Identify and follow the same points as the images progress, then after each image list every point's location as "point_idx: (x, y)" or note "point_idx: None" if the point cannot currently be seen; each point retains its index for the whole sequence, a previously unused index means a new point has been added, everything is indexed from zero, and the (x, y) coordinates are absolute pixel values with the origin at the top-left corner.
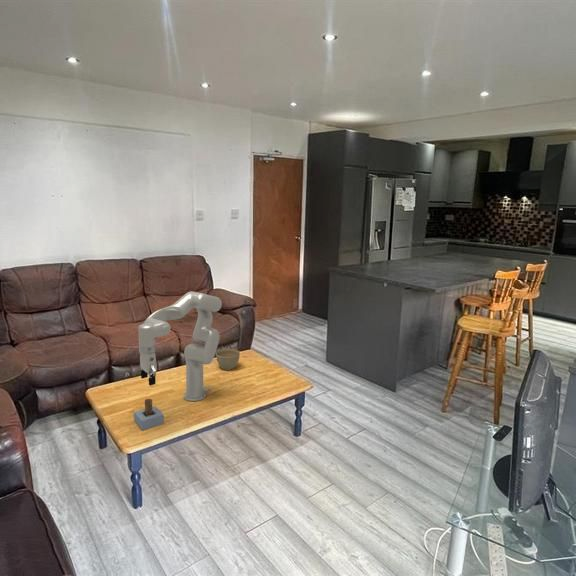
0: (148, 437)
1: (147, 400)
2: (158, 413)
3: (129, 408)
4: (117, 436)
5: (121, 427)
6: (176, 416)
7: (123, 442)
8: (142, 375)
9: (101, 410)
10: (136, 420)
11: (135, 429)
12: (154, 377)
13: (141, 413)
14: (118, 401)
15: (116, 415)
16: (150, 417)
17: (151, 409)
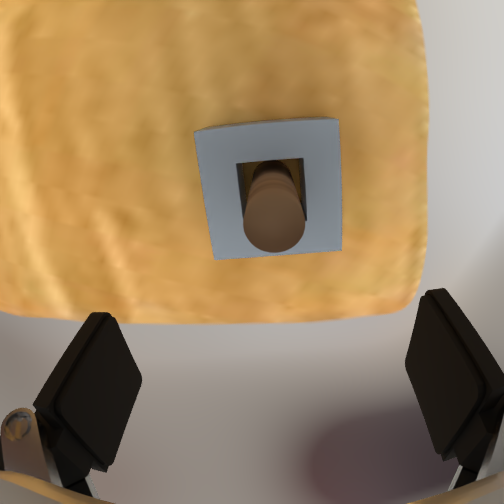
0: (400, 223)
1: (269, 231)
2: (308, 142)
3: (96, 226)
4: (315, 319)
5: (253, 294)
6: (286, 34)
7: (369, 310)
8: (127, 408)
9: None
10: None
11: None
12: (493, 385)
13: None
14: (36, 250)
15: (140, 286)
16: (329, 200)
17: (294, 189)
